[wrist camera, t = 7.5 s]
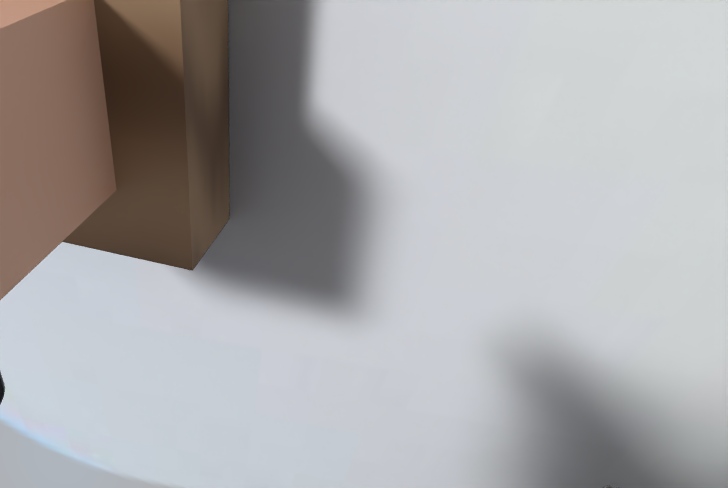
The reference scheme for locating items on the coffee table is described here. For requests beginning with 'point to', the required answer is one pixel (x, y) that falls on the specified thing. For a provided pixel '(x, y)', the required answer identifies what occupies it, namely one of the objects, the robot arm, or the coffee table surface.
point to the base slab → (163, 129)
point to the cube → (49, 129)
